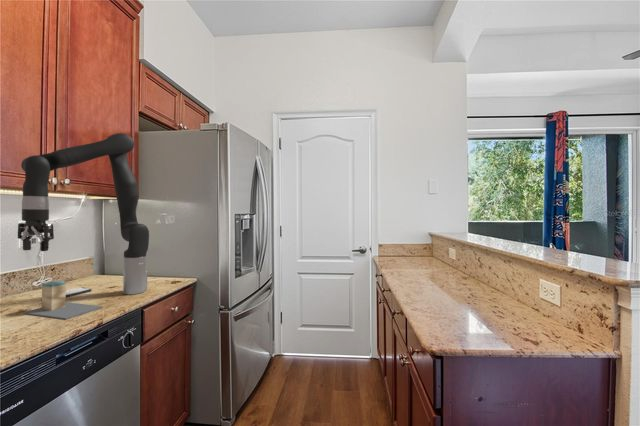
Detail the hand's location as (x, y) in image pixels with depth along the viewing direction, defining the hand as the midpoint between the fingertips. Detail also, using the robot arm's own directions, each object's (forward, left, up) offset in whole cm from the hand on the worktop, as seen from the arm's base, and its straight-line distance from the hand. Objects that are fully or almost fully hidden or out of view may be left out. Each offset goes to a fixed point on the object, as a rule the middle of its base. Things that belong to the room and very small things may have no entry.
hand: (35, 250), depth 113 cm
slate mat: (-4, +9, -24) cm, 26 cm away
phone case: (-21, -12, -24) cm, 34 cm away
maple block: (-4, +4, -23) cm, 24 cm away
